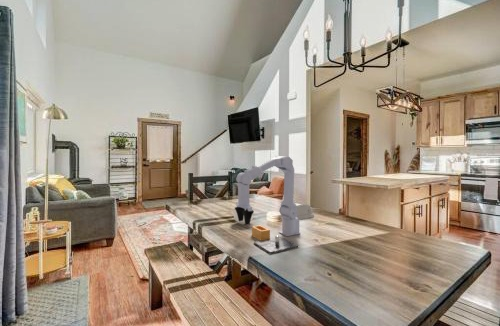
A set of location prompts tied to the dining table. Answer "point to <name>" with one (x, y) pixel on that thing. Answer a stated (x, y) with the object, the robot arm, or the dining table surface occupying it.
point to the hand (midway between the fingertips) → (244, 222)
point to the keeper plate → (275, 245)
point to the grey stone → (304, 212)
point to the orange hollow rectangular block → (260, 232)
